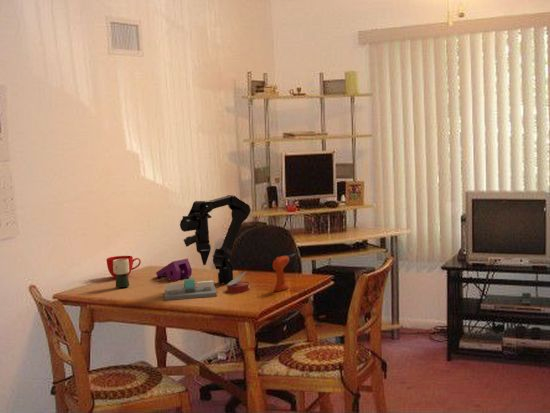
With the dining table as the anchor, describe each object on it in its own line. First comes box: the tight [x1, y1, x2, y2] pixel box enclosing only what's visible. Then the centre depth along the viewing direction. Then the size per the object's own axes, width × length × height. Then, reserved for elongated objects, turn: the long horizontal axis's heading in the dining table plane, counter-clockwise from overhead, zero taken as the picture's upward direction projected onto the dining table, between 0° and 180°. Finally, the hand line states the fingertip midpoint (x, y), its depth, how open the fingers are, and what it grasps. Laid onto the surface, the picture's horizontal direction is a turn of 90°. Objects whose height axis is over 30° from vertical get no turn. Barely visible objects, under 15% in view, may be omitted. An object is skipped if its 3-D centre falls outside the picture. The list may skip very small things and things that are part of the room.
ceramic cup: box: [106, 255, 142, 279], centre depth 363 cm, size 13×17×10 cm
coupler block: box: [183, 277, 197, 292], centre depth 312 cm, size 5×4×5 cm
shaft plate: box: [163, 280, 218, 301], centre depth 312 cm, size 22×16×5 cm
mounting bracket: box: [155, 258, 192, 282], centre depth 353 cm, size 10×8×18 cm
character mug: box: [113, 259, 130, 289], centre depth 335 cm, size 11×7×13 cm, turn 153°
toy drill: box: [272, 252, 296, 292], centre depth 316 cm, size 5×19×15 cm, turn 149°
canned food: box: [226, 271, 251, 294], centre depth 315 cm, size 11×10×10 cm
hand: (204, 263), depth 325 cm, fingers open, 9 cm apart
